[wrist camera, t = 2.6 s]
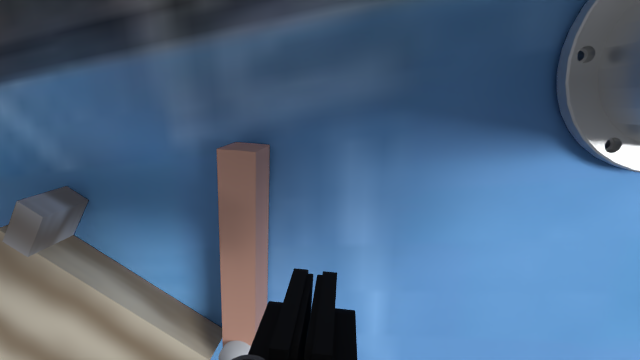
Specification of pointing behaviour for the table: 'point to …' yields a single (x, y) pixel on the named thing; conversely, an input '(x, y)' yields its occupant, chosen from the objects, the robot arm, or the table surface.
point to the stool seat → (84, 295)
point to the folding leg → (242, 242)
